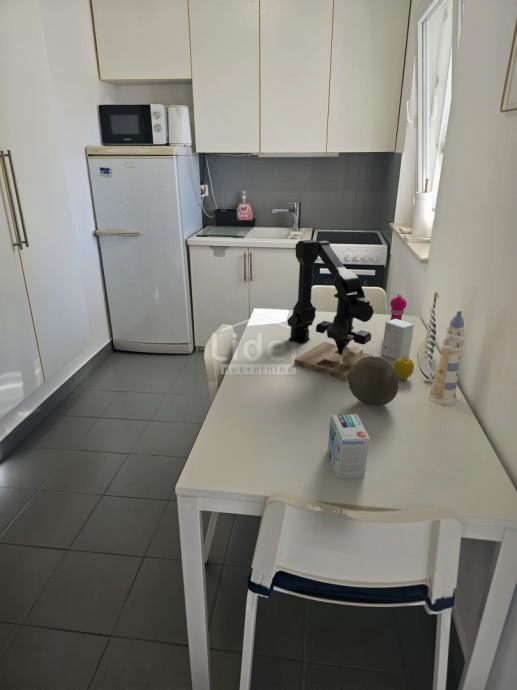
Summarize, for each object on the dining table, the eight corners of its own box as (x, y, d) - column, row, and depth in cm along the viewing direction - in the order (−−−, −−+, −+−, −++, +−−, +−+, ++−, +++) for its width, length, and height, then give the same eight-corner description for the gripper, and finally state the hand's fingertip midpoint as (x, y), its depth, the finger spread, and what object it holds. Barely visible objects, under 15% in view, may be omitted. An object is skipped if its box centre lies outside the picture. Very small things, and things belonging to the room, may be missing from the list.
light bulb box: (326, 451, 113) (330, 413, 108) (352, 450, 113) (357, 413, 109) (336, 479, 103) (341, 439, 99) (365, 478, 103) (371, 438, 99)
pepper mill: (404, 340, 182) (411, 292, 174) (399, 346, 176) (406, 297, 169) (386, 336, 186) (393, 289, 178) (381, 342, 180) (387, 294, 172)
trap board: (294, 364, 159) (294, 359, 158) (323, 346, 175) (324, 341, 174) (345, 380, 148) (346, 375, 147) (371, 360, 164) (372, 355, 163)
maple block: (341, 362, 157) (343, 349, 155) (348, 358, 160) (349, 345, 158) (355, 366, 154) (356, 353, 152) (361, 361, 157) (363, 348, 156)
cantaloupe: (363, 388, 143) (368, 345, 137) (403, 405, 134) (411, 359, 128) (336, 404, 134) (341, 358, 128) (378, 423, 125) (385, 374, 119)
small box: (409, 357, 167) (414, 324, 162) (399, 361, 163) (404, 327, 158) (390, 350, 173) (395, 318, 168) (380, 354, 169) (385, 321, 164)
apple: (389, 380, 149) (393, 358, 146) (394, 372, 155) (397, 351, 152) (409, 384, 147) (413, 362, 144) (413, 377, 152) (417, 355, 149)
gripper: (309, 312, 152) (306, 354, 158) (360, 325, 142) (354, 369, 148) (325, 305, 160) (321, 345, 166) (374, 316, 150) (368, 359, 156)
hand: (340, 354), depth 159 cm, fingers closed
